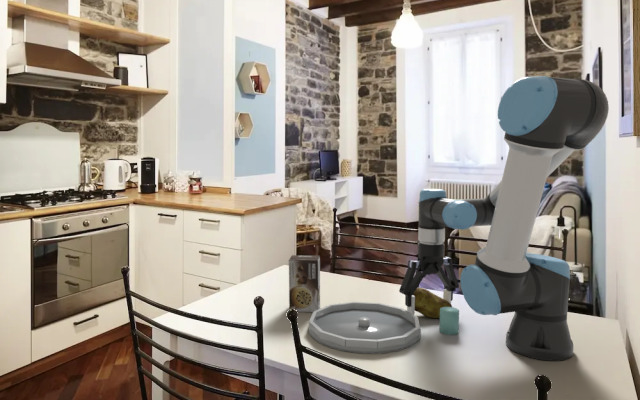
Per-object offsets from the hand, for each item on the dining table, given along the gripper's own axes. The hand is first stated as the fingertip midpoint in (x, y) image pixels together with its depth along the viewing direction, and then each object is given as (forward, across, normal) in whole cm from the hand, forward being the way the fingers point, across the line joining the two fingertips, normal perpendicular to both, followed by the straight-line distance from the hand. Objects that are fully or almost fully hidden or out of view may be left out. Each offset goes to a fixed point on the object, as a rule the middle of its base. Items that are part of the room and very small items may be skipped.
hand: (428, 314), depth 139 cm
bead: (0, +2, +12) cm, 12 cm away
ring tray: (0, +23, +3) cm, 23 cm away
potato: (+1, 0, 0) cm, 1 cm away
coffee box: (+1, +32, -19) cm, 37 cm away
